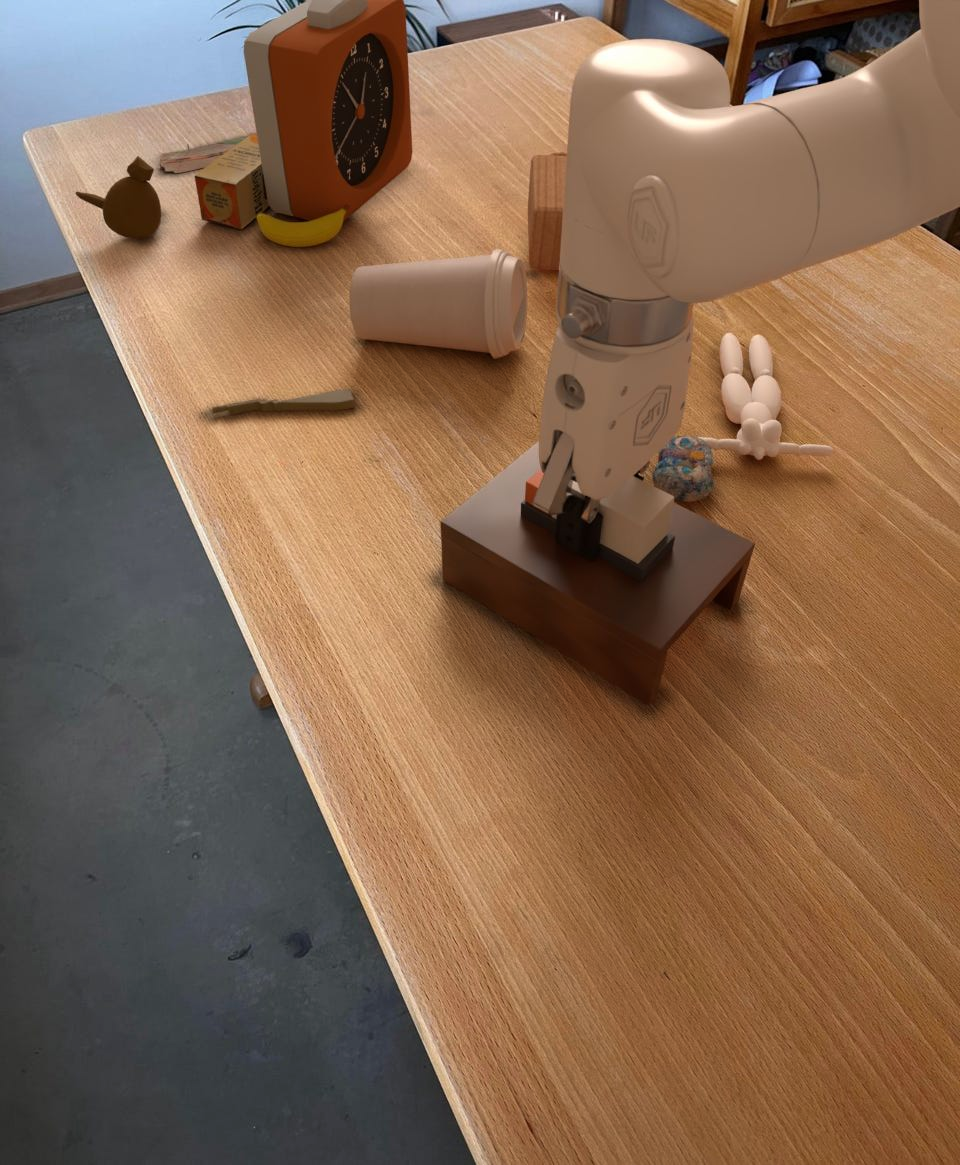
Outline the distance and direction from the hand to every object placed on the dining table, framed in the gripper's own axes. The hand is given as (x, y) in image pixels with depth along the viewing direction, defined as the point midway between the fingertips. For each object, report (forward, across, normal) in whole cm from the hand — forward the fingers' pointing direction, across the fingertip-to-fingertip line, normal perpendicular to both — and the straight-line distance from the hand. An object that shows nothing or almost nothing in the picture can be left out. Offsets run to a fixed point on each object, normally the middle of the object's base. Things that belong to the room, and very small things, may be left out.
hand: (596, 529), depth 68 cm
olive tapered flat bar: (+5, +1, +33) cm, 33 cm away
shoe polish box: (+4, +30, +66) cm, 72 cm away
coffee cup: (+3, +14, +36) cm, 39 cm away
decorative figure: (+4, +35, +7) cm, 36 cm away
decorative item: (+3, +34, +27) cm, 44 cm away
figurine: (+2, +11, +66) cm, 66 cm away
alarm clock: (+6, +33, +58) cm, 67 cm away
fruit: (+6, +20, +52) cm, 56 cm away
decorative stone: (+6, +14, +1) cm, 16 cm away
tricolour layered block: (0, 0, 0) cm, 0 cm away
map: (+7, +33, +75) cm, 82 cm away
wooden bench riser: (+6, 0, 0) cm, 6 cm away
